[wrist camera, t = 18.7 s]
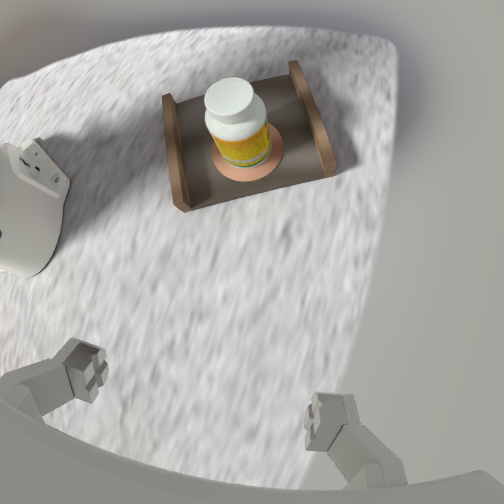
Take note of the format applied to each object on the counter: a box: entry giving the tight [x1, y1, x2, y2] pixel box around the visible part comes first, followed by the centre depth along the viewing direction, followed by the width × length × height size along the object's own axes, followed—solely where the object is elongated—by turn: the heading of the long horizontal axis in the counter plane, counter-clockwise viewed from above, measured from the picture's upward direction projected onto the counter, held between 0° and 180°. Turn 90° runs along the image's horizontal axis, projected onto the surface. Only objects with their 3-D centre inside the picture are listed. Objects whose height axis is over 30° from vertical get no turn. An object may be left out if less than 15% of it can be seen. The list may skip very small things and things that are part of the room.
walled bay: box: [162, 60, 337, 213], centre depth 31 cm, size 14×16×3 cm
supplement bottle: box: [204, 77, 272, 169], centre depth 27 cm, size 5×5×10 cm
